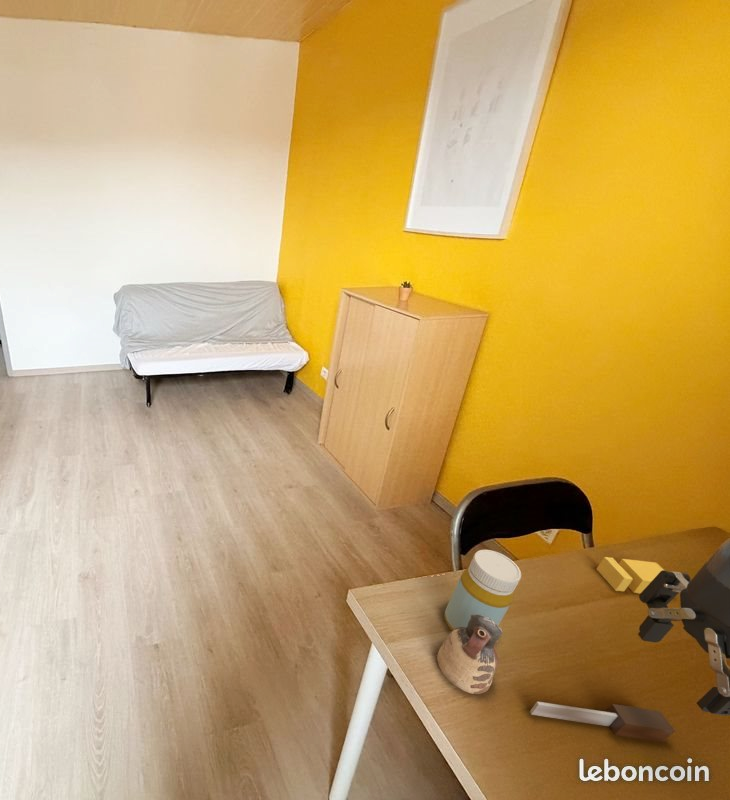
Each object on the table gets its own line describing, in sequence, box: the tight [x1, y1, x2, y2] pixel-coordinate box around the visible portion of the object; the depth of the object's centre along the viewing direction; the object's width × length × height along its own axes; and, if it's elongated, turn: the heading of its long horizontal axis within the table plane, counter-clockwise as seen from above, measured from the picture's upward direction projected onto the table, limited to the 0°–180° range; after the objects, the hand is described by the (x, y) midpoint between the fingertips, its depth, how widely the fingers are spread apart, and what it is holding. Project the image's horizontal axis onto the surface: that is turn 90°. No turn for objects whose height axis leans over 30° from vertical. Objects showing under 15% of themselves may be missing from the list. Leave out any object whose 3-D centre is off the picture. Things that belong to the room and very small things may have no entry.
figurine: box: [436, 614, 504, 695], centre depth 61 cm, size 7×7×12 cm
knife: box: [529, 701, 676, 743], centre depth 57 cm, size 16×2×4 cm, turn 82°
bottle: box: [443, 549, 522, 632], centre depth 67 cm, size 7×7×15 cm
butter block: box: [618, 558, 666, 594], centre depth 78 cm, size 6×5×4 cm
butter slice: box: [596, 556, 633, 592], centre depth 78 cm, size 2×5×4 cm, turn 172°
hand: (675, 671), depth 52 cm, fingers open, 8 cm apart
